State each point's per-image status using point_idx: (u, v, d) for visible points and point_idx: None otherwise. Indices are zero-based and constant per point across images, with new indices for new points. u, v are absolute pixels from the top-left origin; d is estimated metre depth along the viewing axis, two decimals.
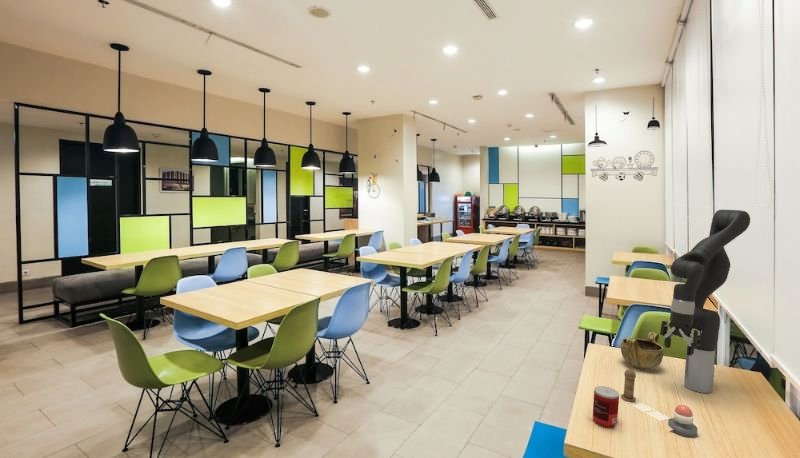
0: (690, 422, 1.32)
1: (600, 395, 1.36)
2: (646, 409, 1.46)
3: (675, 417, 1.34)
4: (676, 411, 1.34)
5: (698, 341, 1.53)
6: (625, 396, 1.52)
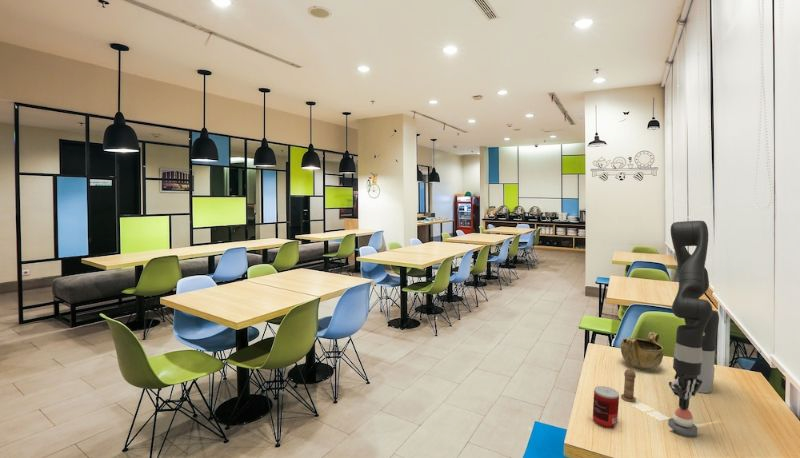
0: (690, 425, 1.32)
1: (600, 395, 1.36)
2: (646, 409, 1.46)
3: (675, 420, 1.34)
4: (676, 414, 1.34)
5: None
6: (625, 396, 1.52)
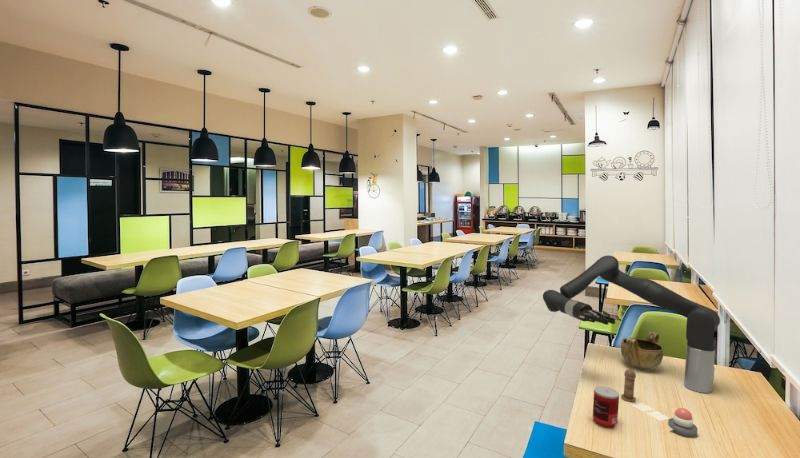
0: (690, 425, 1.32)
1: (600, 395, 1.36)
2: (646, 409, 1.46)
3: (675, 420, 1.34)
4: (676, 414, 1.34)
5: None
6: (625, 396, 1.52)
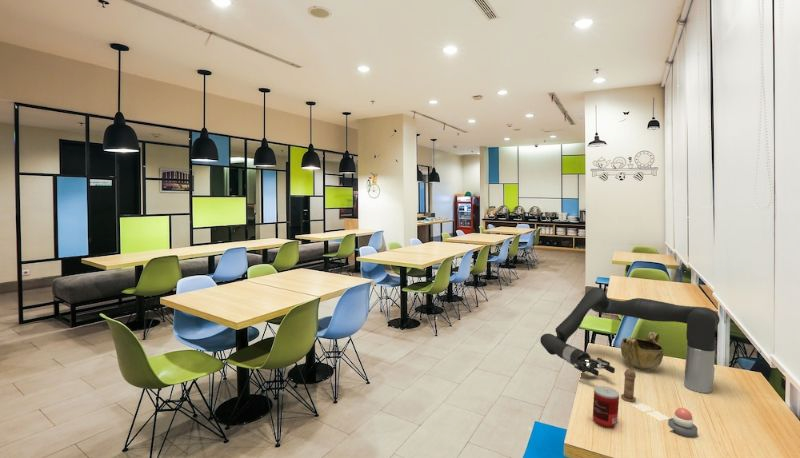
0: (690, 425, 1.32)
1: (600, 395, 1.36)
2: (646, 409, 1.46)
3: (675, 420, 1.34)
4: (676, 414, 1.34)
5: None
6: (625, 396, 1.52)
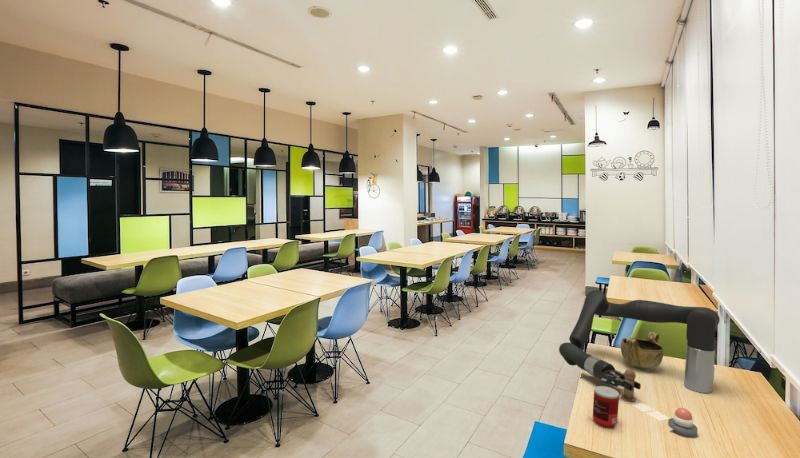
0: (690, 425, 1.32)
1: (600, 395, 1.36)
2: (646, 409, 1.46)
3: (675, 420, 1.34)
4: (676, 414, 1.34)
5: None
6: (625, 396, 1.52)
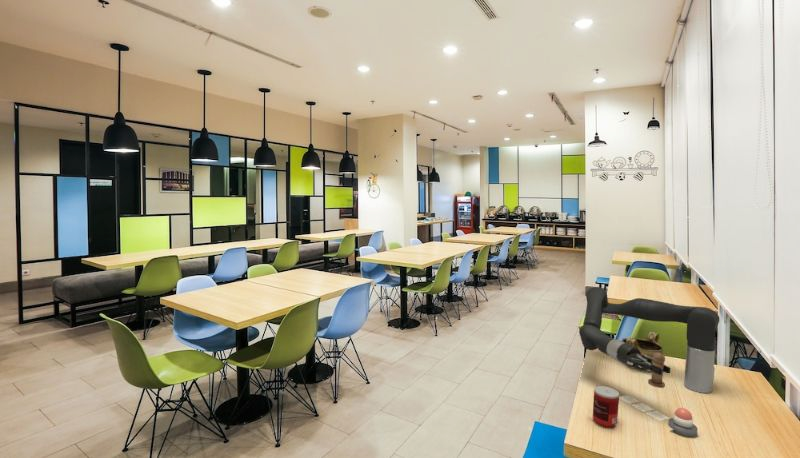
0: (690, 425, 1.32)
1: (600, 395, 1.36)
2: (646, 409, 1.46)
3: (675, 420, 1.34)
4: (676, 414, 1.34)
5: None
6: (653, 381, 1.41)
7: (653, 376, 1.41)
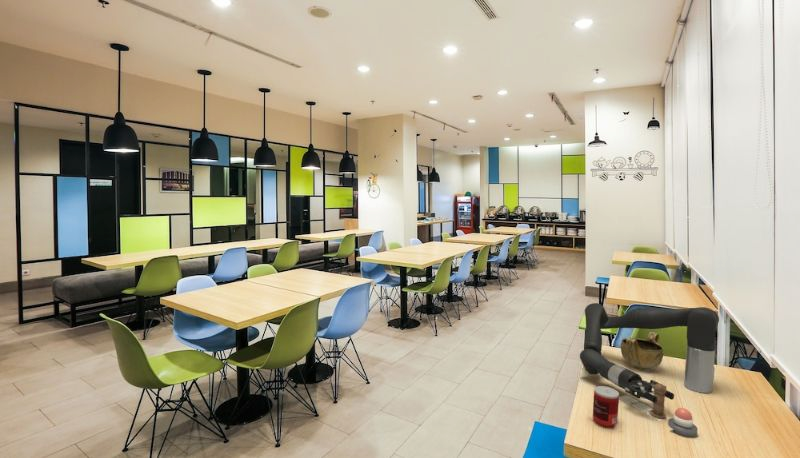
0: (690, 425, 1.32)
1: (600, 395, 1.36)
2: (646, 409, 1.46)
3: (675, 420, 1.34)
4: (676, 414, 1.34)
5: None
6: (654, 412, 1.41)
7: (654, 407, 1.41)
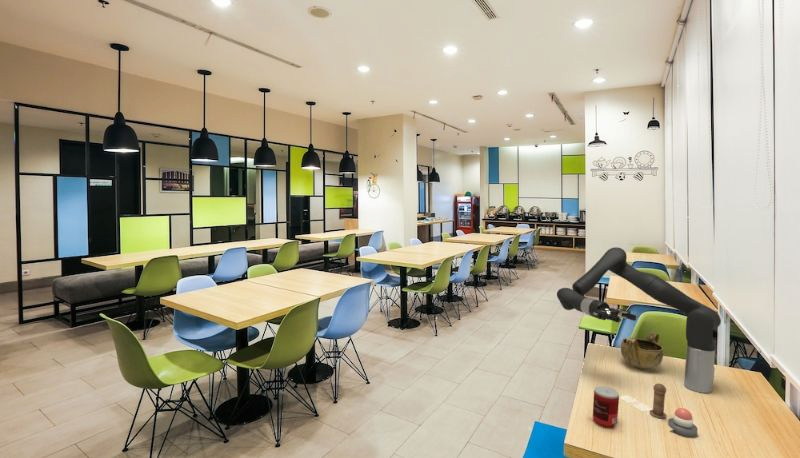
0: (690, 425, 1.32)
1: (600, 395, 1.36)
2: (646, 409, 1.46)
3: (675, 420, 1.34)
4: (676, 414, 1.34)
5: None
6: (654, 412, 1.41)
7: (654, 407, 1.41)
